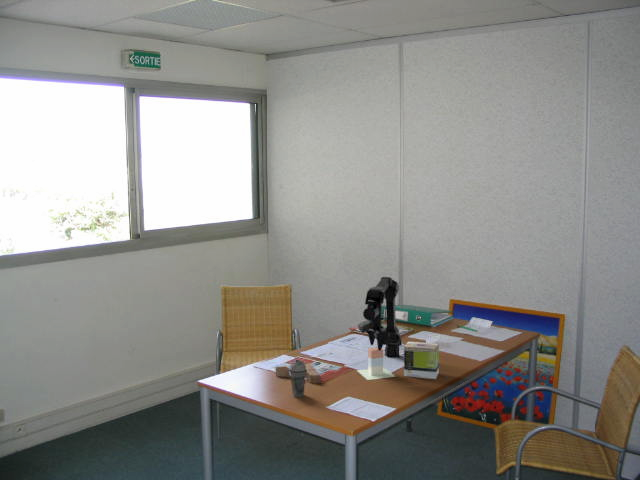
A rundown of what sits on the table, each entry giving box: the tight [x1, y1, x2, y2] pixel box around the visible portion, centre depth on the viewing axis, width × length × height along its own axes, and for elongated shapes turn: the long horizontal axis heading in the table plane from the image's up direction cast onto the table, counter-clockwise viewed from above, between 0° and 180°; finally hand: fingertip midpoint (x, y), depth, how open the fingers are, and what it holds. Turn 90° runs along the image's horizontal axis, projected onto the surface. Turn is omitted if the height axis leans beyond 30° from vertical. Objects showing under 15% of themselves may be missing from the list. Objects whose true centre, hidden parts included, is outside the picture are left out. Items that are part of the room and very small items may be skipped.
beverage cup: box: [289, 350, 306, 398], centre depth 270 cm, size 7×7×20 cm
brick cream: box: [367, 364, 384, 375], centre depth 297 cm, size 6×4×4 cm, turn 108°
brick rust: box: [367, 346, 384, 359], centre depth 296 cm, size 6×4×4 cm, turn 109°
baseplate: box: [356, 366, 396, 381], centre depth 297 cm, size 14×14×1 cm
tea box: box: [403, 341, 440, 380], centre depth 295 cm, size 15×10×15 cm
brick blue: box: [367, 356, 384, 367], centre depth 296 cm, size 6×4×4 cm, turn 107°
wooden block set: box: [275, 363, 321, 384], centre depth 291 cm, size 17×6×18 cm
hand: (375, 347), depth 296 cm, fingers open, 9 cm apart
